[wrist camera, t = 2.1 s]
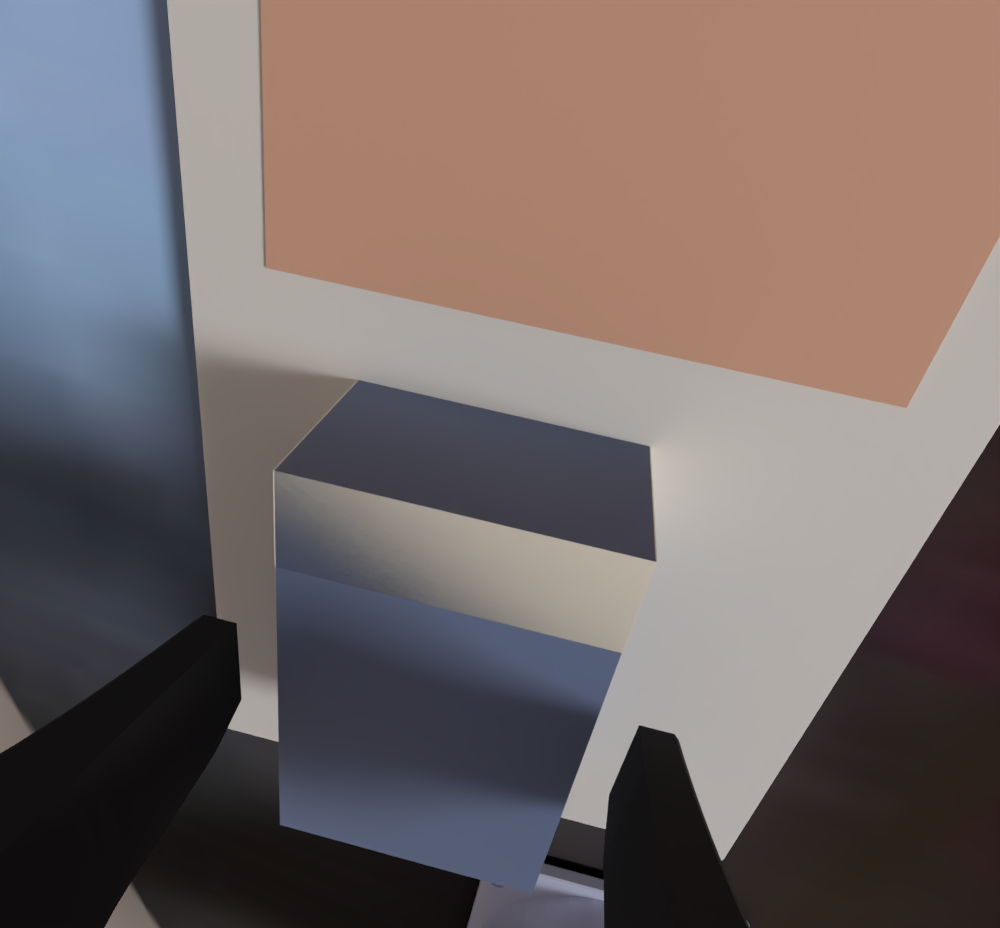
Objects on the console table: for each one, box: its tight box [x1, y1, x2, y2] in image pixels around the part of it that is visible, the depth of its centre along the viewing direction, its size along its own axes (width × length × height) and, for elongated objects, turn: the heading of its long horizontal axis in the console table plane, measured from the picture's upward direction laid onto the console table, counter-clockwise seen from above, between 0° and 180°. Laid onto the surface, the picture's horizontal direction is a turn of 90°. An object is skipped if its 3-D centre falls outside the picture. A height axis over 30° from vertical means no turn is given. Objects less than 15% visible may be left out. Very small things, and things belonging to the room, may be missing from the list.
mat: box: [167, 0, 1000, 860], centre depth 12 cm, size 22×14×1 cm, turn 170°
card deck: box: [273, 380, 657, 894], centre depth 13 cm, size 9×6×3 cm, turn 170°
